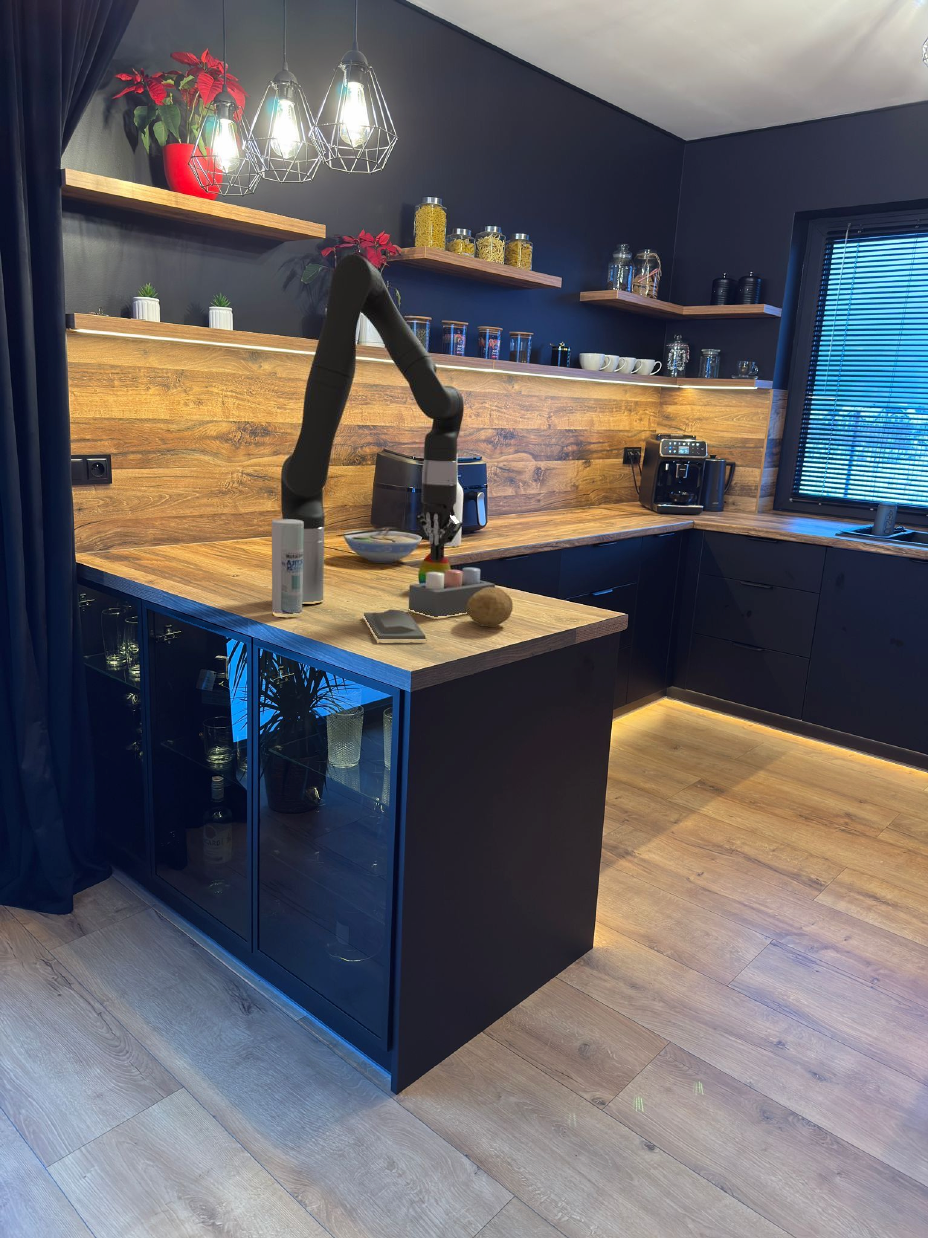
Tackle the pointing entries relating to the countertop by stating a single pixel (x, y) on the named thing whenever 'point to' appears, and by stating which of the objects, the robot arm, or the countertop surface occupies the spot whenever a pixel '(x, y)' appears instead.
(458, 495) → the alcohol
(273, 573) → the spray can
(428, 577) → the white egg
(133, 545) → the countertop surface
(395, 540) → the ramen bowl
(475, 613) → the potato
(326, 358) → the robot arm
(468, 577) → the blue grey egg
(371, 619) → the soap mold
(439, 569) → the decorative egg
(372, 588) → the countertop surface
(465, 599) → the grey rectangular block
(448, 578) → the brown egg
